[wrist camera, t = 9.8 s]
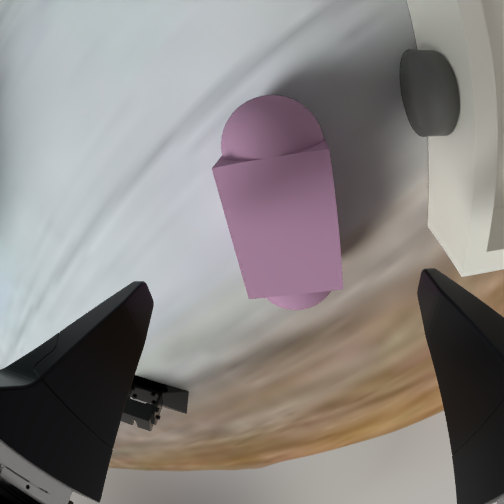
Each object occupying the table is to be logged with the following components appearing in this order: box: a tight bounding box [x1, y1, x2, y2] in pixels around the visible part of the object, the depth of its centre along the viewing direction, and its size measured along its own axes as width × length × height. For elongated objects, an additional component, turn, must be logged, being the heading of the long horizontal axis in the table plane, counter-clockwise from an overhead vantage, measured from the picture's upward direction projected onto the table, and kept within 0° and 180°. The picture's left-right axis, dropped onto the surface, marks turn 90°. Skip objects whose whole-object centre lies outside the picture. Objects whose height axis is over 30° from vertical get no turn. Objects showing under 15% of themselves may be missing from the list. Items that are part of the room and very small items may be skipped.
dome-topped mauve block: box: [212, 95, 343, 310], centre depth 14 cm, size 11×4×4 cm, turn 13°
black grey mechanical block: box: [121, 375, 189, 431], centre depth 28 cm, size 12×7×5 cm, turn 79°
